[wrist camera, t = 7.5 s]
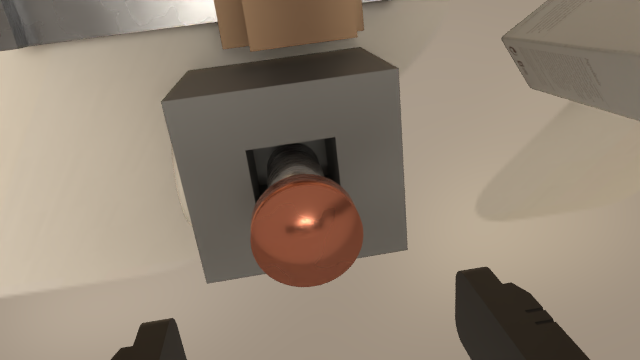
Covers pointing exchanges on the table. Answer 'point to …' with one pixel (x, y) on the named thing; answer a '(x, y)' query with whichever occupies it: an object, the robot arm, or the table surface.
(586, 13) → the skincare box
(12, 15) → the rail
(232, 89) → the cabinet
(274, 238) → the plunger
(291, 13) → the stepped wooden block
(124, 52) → the table surface
